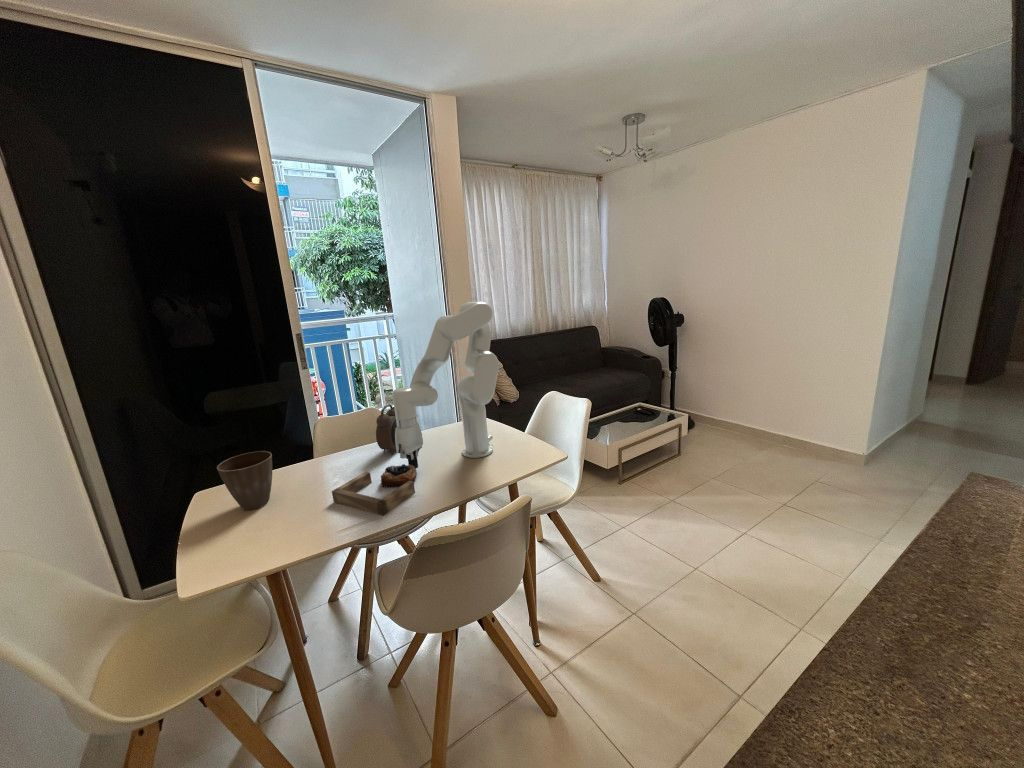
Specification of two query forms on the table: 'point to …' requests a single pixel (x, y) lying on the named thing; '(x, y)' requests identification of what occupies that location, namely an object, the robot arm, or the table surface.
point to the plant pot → (248, 478)
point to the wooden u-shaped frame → (374, 505)
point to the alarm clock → (386, 429)
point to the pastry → (398, 475)
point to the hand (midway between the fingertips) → (413, 467)
